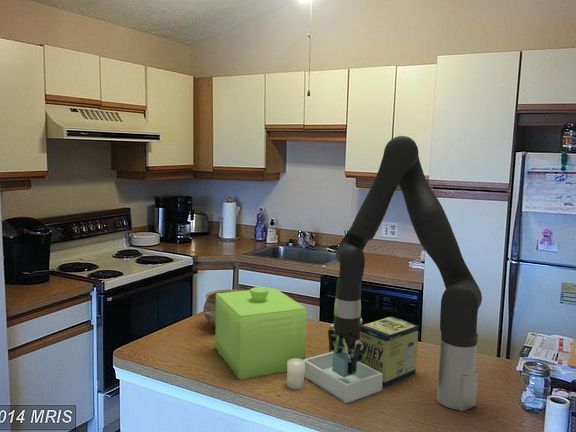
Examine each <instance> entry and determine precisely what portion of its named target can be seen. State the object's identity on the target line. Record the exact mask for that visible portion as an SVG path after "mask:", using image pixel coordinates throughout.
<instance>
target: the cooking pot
mask: <svg viewBox="0 0 576 432" xmlns="http://www.w3.org/2000/svg"><path fill="white" fill-rule="evenodd" d="M235 291H243V290H241V289H233V288H232V289H231V288H230V289H229V288H228V289H227V288H226V289H217V290H213V291H209V292H208V293H206V294H205V302H204V305H203V307H202V308H203V311H202V312H203V314H204V317H205V319H206V320H207V322H208V323H210V324H211V325H213V326H215V327H216V293H225V292H235Z"/></svg>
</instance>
